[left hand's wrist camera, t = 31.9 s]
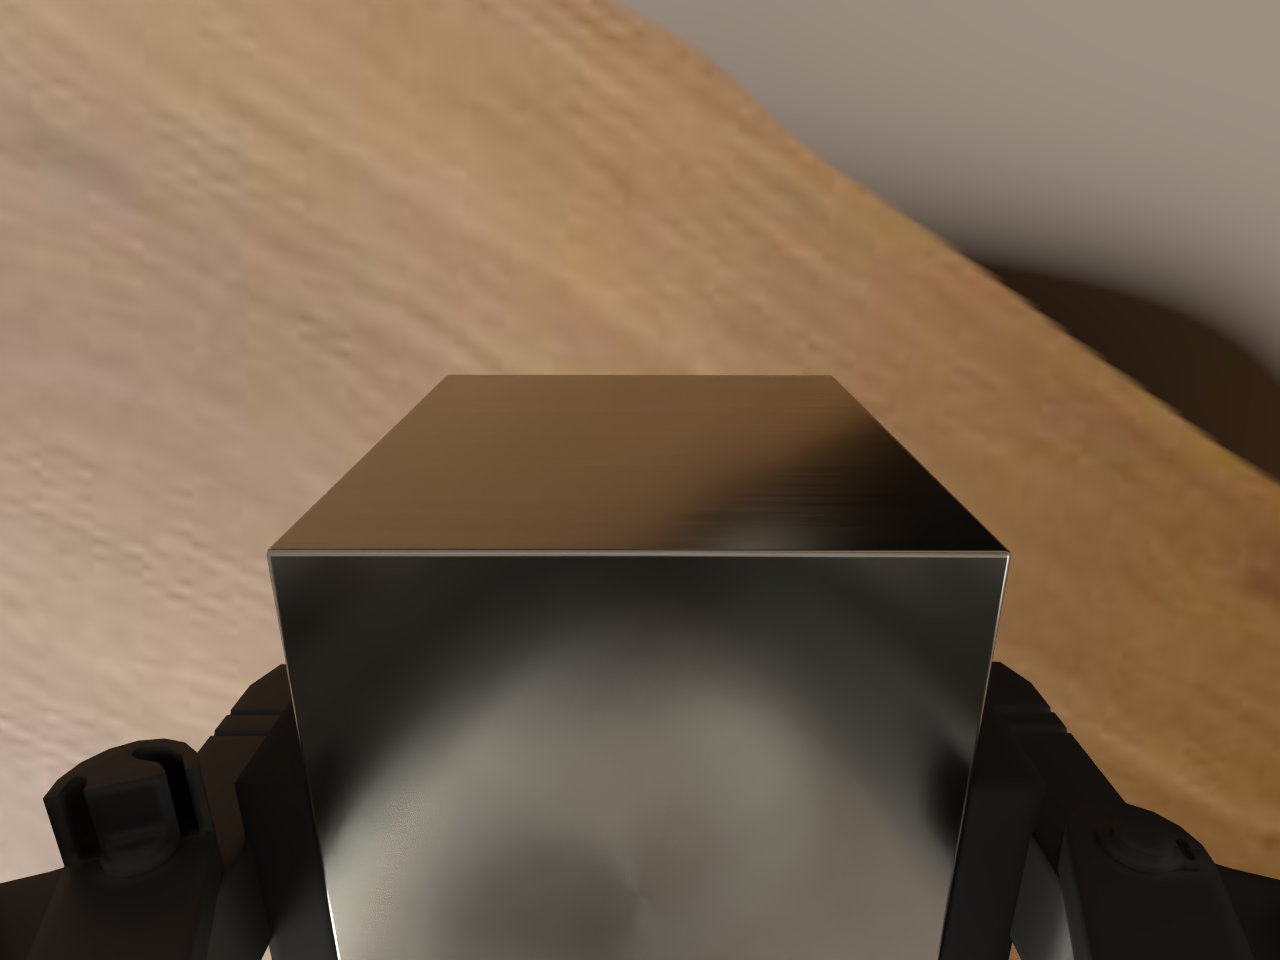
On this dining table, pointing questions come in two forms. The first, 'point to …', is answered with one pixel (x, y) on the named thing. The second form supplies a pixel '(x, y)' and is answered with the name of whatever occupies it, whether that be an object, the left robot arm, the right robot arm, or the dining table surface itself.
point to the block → (638, 675)
